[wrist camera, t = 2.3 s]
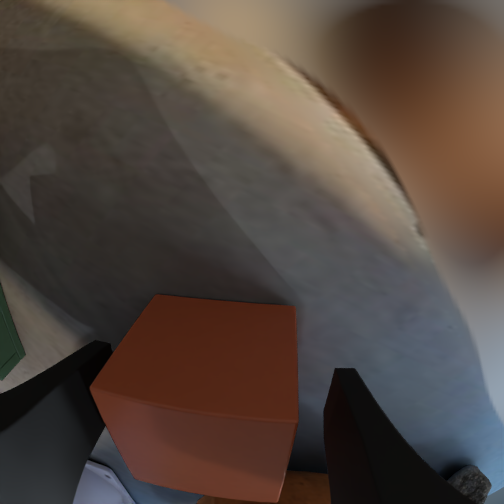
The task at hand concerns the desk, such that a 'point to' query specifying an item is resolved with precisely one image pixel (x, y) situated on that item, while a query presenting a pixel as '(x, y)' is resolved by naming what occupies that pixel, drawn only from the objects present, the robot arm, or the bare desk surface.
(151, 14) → the desk surface
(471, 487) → the rock
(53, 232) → the desk surface
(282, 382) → the clay cube
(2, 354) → the green tray
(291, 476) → the potato
